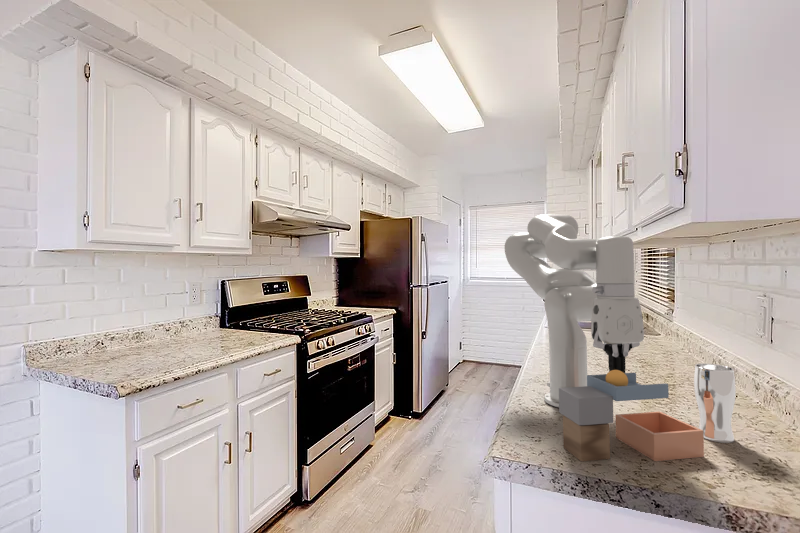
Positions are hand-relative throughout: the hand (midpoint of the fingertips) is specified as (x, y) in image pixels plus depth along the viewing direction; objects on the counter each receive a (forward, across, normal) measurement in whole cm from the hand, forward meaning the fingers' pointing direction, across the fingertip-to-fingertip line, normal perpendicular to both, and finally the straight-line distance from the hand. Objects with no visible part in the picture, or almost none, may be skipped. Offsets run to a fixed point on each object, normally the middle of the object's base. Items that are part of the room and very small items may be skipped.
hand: (617, 373), depth 88 cm
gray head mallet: (+6, -7, -5) cm, 11 cm away
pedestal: (+13, -14, -8) cm, 20 cm away
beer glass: (+13, +18, -6) cm, 23 cm away
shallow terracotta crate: (+13, +2, -8) cm, 16 cm away
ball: (-1, -6, -8) cm, 11 cm away
